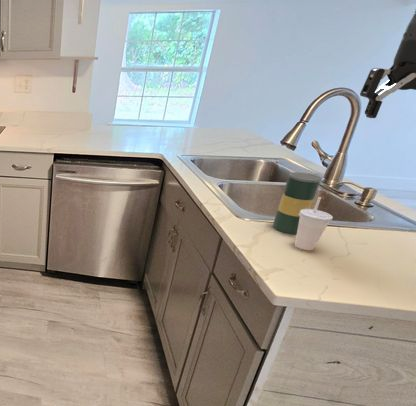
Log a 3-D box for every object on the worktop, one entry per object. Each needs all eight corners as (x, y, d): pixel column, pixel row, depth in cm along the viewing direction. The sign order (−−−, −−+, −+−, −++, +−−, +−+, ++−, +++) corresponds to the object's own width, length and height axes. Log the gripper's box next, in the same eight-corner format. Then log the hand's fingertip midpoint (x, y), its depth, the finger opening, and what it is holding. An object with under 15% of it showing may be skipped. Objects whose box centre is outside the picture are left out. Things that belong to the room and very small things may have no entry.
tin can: (306, 231, 104) (327, 177, 97) (293, 236, 101) (313, 182, 95) (279, 221, 110) (297, 170, 103) (266, 226, 107) (283, 174, 100)
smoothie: (302, 239, 100) (319, 192, 94) (326, 251, 94) (347, 201, 88) (282, 242, 99) (298, 194, 93) (305, 254, 93) (324, 204, 87)
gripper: (396, 38, 72) (364, 120, 79) (495, 35, 68) (452, 122, 74) (373, 38, 79) (345, 114, 85) (461, 36, 74) (425, 116, 81)
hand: (395, 118), depth 80 cm, fingers open, 8 cm apart
